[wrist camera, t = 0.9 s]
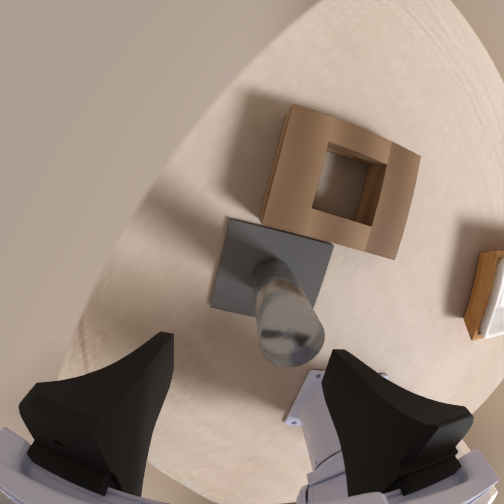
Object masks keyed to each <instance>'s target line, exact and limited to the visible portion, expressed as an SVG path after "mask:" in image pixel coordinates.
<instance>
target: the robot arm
mask: <svg viewBox="0 0 504 504" xmlns="http://www.w3.org/2000/svg"><path fill="white" fill-rule="evenodd" d="M173 370H174V334H172V333H166V332H159V333H158V334H156V335H155V336H154V337H152V338H151V339H150V340H148V341H147V342H146V343H145V344H143V345H142V346H140V347H139V348H138V349H136V350H135V351H133V352H132V353H130V354H129V355H127V356H125V357H124V358H122V359H121V360H119V361H117V362H115V363H113V364H111V365H109V366H107V367H105V368H102V369H100V370H97V371H94V372H91V373H89V374H86V375H83V376H79V377H75V378H71V379H66V380H60V381H52V382H42V383H36V384H35V385H34V387H33V388H32V389H31V390H30V391H29V393H28V394H27V395H26V396H25V398H24V399H23V400H22V401H21V402H20V404H19V411H20V415H21V417H22V419H23V421H24V423H25V425H26V426H27V428H28V430H29V432H30V433H31V435H32V437H33V438H34V442H33V444H32V445H30V444H29V443H28V442H27V441H26V440H24V439H23V438H22V437H20V436H18V435H17V434H15V433H14V432H12V431H11V430H9V429H8V428H6V427H3V428H2V429H1V431H0V490H1V491H2V492H3V493H4V494H5V495H6V496H7V497H9V498H10V499H11V500H12V501H14V502H15V503H17V504H168V503H163V502H159V501H154V500H150V499H146V498H142V497H141V493H142V485H143V478H144V472H145V467H146V461H147V456H148V451H149V446H150V442H151V438H152V433H153V430H154V427H155V423H156V421H157V418H158V416H159V413H160V410H161V408H162V405H163V403H164V400H165V398H166V395H167V392H168V390H169V387H170V383H171V379H172V374H173ZM318 374H320V375H318ZM316 375H318V376H316ZM388 378H389V376H388V375H387V374H378V373H377V372H375V371H374V370H373V369H371V368H370V367H368V366H367V365H366V364H364V363H363V362H362V361H360V360H359V359H358V358H356V357H355V356H354V355H352V354H351V353H349V352H348V351H346V350H342V349H333V350H332V353H331V356H330V359H329V362H328V365H327V368H326V371H324V370H311V371H309V373H308V374H307V377H306V379H305V381H304V383H303V385H302V387H301V389H300V391H299V393H298V395H297V398H296V400H295V402H294V404H293V406H292V408H291V409H290V411H289V413H288V415H287V417H286V419H285V424H286V425H295V426H302V428H303V432H304V436H305V441H306V445H307V449H308V453H309V457H310V461H311V465H312V469H313V472H311V473H308V474H307V479H308V483H309V484H307V485H304V486H303V487H302V488H301V489H300V492H299V495H298V497H297V501H296V504H473V503H474V502H475V501H476V500H478V499H479V498H480V497H481V496H482V495H484V494H485V493H486V492H487V491H488V490H489V489H490V488H491V487H493V486H494V485H495V484H496V483H497V482H498V481H499V478H498V476H497V475H496V473H495V472H494V470H493V469H492V467H491V466H490V465H489V463H488V462H487V460H486V459H485V458H484V456H483V455H482V453H481V452H480V451H479V450H478V448H477V449H474V450H473V451H471V452H469V453H467V454H465V455H463V456H462V457H460V458H459V459H457V458H456V456H455V455H457V453H458V450H457V449H456V446H457V444H458V443H459V442H460V441H461V440H462V438H463V437H464V436H465V435H466V433H467V432H468V430H469V429H470V427H471V425H472V423H473V419H474V417H473V415H472V414H471V413H470V412H469V411H468V409H467V408H466V407H464V406H458V405H452V404H446V403H442V402H438V401H434V400H431V399H427V398H425V397H422V396H419V395H417V394H414V393H412V392H410V391H407V390H406V389H404V388H402V387H400V386H398V385H396V384H394V383H392V382H391V381H389V380H388ZM294 421H295V422H294Z"/></svg>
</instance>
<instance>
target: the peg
mask: <svg viewBox="0 0 504 504" xmlns="http://www.w3.org/2000/svg"><path fill="white" fill-rule="evenodd" d="M252 285H253V293H254V302H255V310H256V318H257V326H258V335H259V343H260V349H261V352H262V354H263V355H264V357H265V358H266V359H267V360H268V361H269V362H271V363H273V364H275V365H278V366H282V367H295V366H299V365H302V364H304V363H306V362H308V361H310V360H311V359H313V358H314V357H315V356H316V355H317V354H318V353H319V351H320V350H321V348H322V346H323V343H324V339H325V333H324V329H323V326H322V324H321V323H320V321H319V319H318V317H317V315H316V314H315V312H314V310H313V308H312V307H311V305H310V303H309V301H308V300H307V298H306V296H305V294H304V293H303V291H302V289H301V287H300V286H299V284H298V282H297V280H296V279H295V277H294V275H293V273H292V272H291V270H290V268H289V267H288V265H287V264H286V263H285V262H283V261H282V260H280V259H276V258H269V259H265V260H263V261H261V262H260V263H258V264H257V265H256V267H255V268H254V270H253V273H252Z"/></svg>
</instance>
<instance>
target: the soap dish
mask: <svg viewBox="0 0 504 504" xmlns="http://www.w3.org/2000/svg"><path fill="white" fill-rule="evenodd" d="M464 322H465V324H466V327H467V330H468V333H469V335H470V338H471V340H477V339H481V338H491V337H494V336H497V335H501V334H504V251H489V252H481V253H480V256H479V261H478V265H477V270H476V275H475V279H474V283H473V287H472V291H471V295H470V299H469V302H468V306H467V309H466V312H465V314H464Z"/></svg>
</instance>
